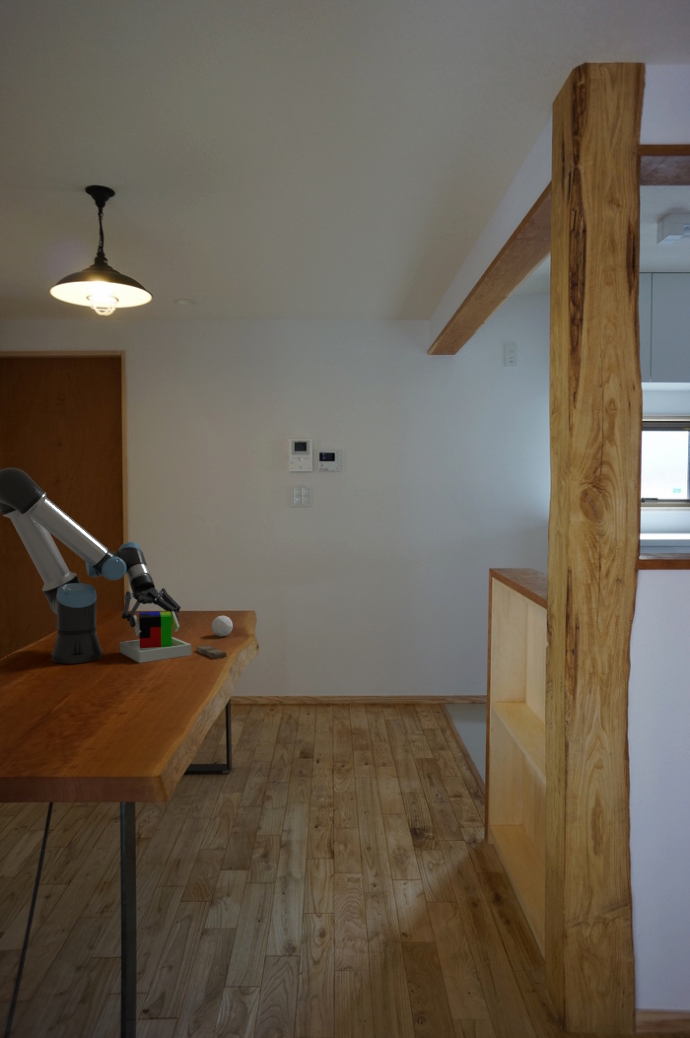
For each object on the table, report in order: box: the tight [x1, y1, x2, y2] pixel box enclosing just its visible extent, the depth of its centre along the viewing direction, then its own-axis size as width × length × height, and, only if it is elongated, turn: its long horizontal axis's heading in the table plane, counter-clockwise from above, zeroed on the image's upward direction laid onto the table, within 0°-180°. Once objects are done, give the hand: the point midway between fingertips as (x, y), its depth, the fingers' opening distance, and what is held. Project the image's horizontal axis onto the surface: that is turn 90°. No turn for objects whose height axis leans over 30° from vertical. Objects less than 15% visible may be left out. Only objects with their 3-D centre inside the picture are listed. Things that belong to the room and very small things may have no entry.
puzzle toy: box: [138, 610, 173, 649], centre depth 221 cm, size 10×10×10 cm
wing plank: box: [195, 644, 227, 660], centre depth 222 cm, size 14×4×2 cm, turn 38°
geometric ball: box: [211, 615, 234, 638], centre depth 250 cm, size 8×8×8 cm
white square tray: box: [119, 636, 192, 664], centre depth 222 cm, size 17×17×4 cm
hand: (158, 631), depth 220 cm, fingers closed on puzzle toy, 12 cm apart
